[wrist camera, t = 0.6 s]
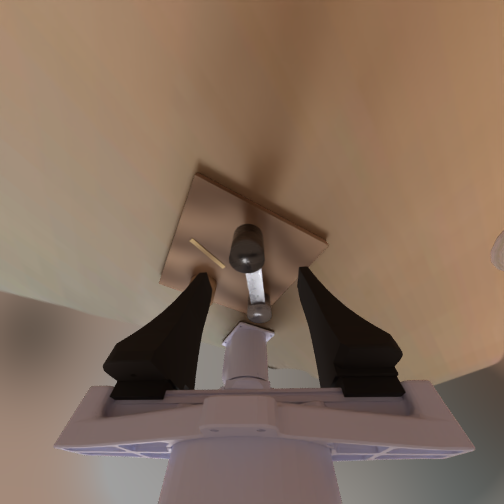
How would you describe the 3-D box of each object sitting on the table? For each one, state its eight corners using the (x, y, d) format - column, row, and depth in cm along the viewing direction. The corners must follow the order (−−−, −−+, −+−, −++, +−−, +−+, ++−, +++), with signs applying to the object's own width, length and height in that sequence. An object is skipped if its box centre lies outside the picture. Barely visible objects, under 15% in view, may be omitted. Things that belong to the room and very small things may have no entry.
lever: (270, 305, 29) (274, 344, 24) (249, 307, 30) (248, 345, 25) (262, 212, 20) (265, 243, 15) (231, 216, 20) (223, 247, 15)
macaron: (211, 295, 29) (207, 311, 27) (187, 287, 28) (181, 302, 26) (220, 279, 27) (217, 295, 25) (195, 270, 26) (189, 285, 24)
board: (259, 312, 33) (259, 318, 32) (161, 278, 29) (158, 284, 28) (325, 240, 24) (329, 246, 23) (197, 172, 19) (194, 175, 18)
